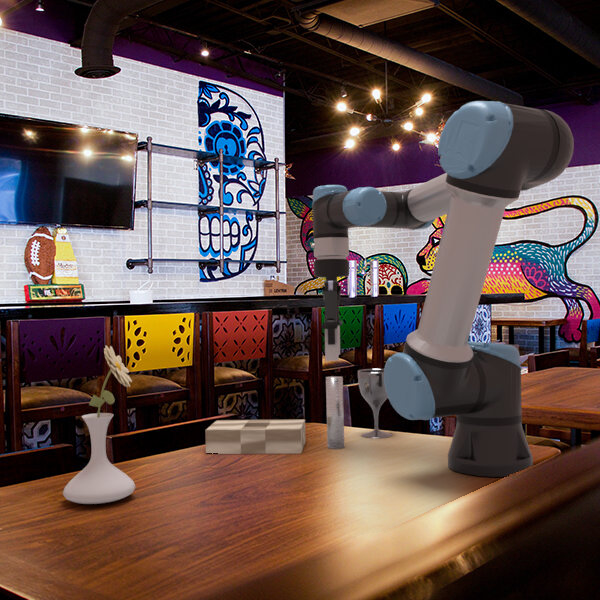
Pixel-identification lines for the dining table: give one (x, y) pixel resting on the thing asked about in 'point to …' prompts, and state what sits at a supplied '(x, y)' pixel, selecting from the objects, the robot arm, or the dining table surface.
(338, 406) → the peg
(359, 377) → the wine glass
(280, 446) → the hole block
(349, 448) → the dining table surface
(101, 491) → the flower in vase
